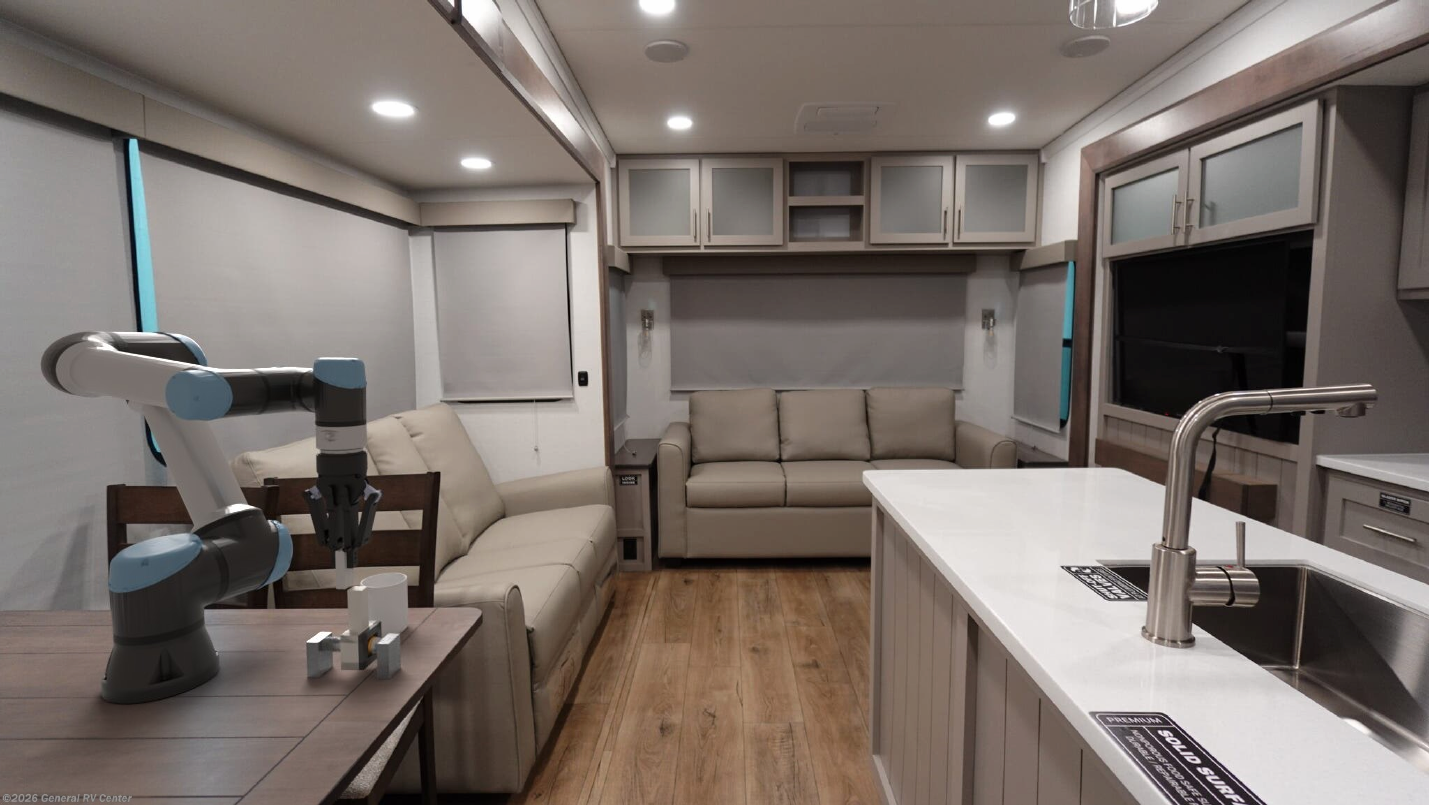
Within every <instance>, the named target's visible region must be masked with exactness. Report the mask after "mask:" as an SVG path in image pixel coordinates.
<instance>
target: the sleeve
mask: <svg viewBox="0 0 1429 805" xmlns="http://www.w3.org/2000/svg"><path fill="white" fill-rule="evenodd" d="M346 590H347V591H346V593H347V616H348V617H347V618H348V619H347V621H348V629H346V630H345V631H344V632H343V633H341V634H340V635H339V637H340V648H341V652H340V670H341V671H364V670H366V669H367V668H368V667H369V666H370V665H371V664H372V663H374V662H375V661H377V653H367V640H368V639H369V638H370V637H378V638H382V630H381V621H369V610H368V586H360V585H354V586H352V587H350V588H349V589H346Z"/></svg>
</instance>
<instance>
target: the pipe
mask: <svg viewBox="0 0 1429 805" xmlns="http://www.w3.org/2000/svg"><path fill="white" fill-rule="evenodd" d="M305 646H306V649H305V650H306V669H307V670H306V671H307V673H306V674H307V676H306V677H307V678H315V679H316V678H320V677H322V676H323V675H324V674H325V673H326V672H328V671H329V670H330V669H332V668H333V667H334V660H333V659H334V658H333V654H334V653H335V652H337V653H341V648H340V636H333V632H332V631H331V632H330V631H320V632H318V633H317V634H316V635H315V636H313V637H311V638H310V639H309V640H307V641H306V642H305ZM367 653H377V659H376V665H377V666H376V669H377V671H376V672H377V674H376V675H377V680H390V679H391V678H392V677H394V676H395V675H396V673H397V672H399V670H400V669H401V668H402V667H401V666H402V665H401V664H402V662H401V660H402V659H401V633H399V634H390V633H389V634H387V635H386V636H385V637H384V638H378V637H370V638H369V639H368V640H367Z"/></svg>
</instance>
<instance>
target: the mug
mask: <svg viewBox="0 0 1429 805" xmlns="http://www.w3.org/2000/svg"><path fill="white" fill-rule="evenodd" d="M359 586H368V610H369V621H381V630H382V638H384V637H385V636H386V635H387V634H389V633H390V634H401V633H403V632H404V631H405V630H406V629H407V628H408V625H409V604H408V603H409V600H408V599H409V598H408V597H409V596H408V594H409V593H408V576H407V575H406V574H405V573H400V572H385V573H377V574H374V575H371V576H368V577H366V578H363V579H362V580H361V581H360V584H359Z"/></svg>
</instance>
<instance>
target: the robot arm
mask: <svg viewBox="0 0 1429 805" xmlns="http://www.w3.org/2000/svg"><path fill="white" fill-rule="evenodd" d="M40 370H41V373H42V376H43V377H44V379H45V380H46V382H47V383H48V384H50V386H52V387H53V388H54V389H56V390H58V391H59V392H63V393H65V394H67V395H68V394H69V395H73V396H76V397H77V396H78V397H81V398H99V397H104V396H106V397H107V396H108V397H112V398H115V399H116V398H117V399H121V400H122V399H123V400H125V402H126V405H127V407H128V408H129V409H130V410H131V411H133V412H136V413H140V414H143V416H144V418H145V421H146V423H147V424H148V427H149V429H150V432H151V433H152V436H153V438H154V440H155V443H156V444H157V446H158V449H159V451H160V453H161V456H162V458H163V460H164V462H165V464H166V467H167V468H168V471H169V473H170V475H171V478H172V479H173V482H174V485H175V487H176V489H177V490H178V492H179V493H178V494H179V495H180V497H181V499H182V502H183V504H184V506H185V508H186V510H187V512H188V514H189V517H190V519H191V521H192V524H193V527H192V529H191V530H190V532H187V533H183V532H182V533H172V534H169V535H167V536H157V537H153V538H149V539H145V540H142V541H140V542H137V543H134V544H132V545H130V546H129V545H128V547H125V548H123V549H122V550H120V551H119V552H118V553H117V554H115V556H114V557H113V558H112V559H111V562H110V564H109V573H108V574H109V575H108V581H107V587H108V589H109V598H110V599H109V600H110V610H111V611H110V612H111V622H112V623H111V624H112V626H111V627H112V641H113V646H112V649H111V652H110V655H109V656H108V661H107V664H106V668H105V670H104V671H105V672H104V674H103V675H102V677H101V680H100V681H101V682H100V688H101V690H100V692H101V697H102V699H104V700H105V701H106V702H109V703H112V704H125V705H127V704H140V703H146V702H151V701H157V700H161V699H164V698H168V697H172V696H175V695H179V694H181V693H184V692H187V691H190V690H192V689H194V688H196V687H198V686H200V685H202V684H204V683H206V682H208V681H209V680H210V679H211V678H214V676H216V675H217V673H218V672H219V671H220V669H221V664H220V660H221V659H220V653H219V651H218V650H217V648H215V646H214V643H213V641H212V639H211V637H210V634H209V632H208V630H207V628H206V621H205V607H206V606H209V605H212V604H215V603H218V602H221V601H225V600H228V599H230V598H232V597H233V598H234V597H235V596H238V595H241V594H244V593H247V592H251V591H254V590H260V589H261V588H263V587H264V586H267V585H269V584H272V583H274V582H276V581H278V580H280V579H281V578H283V577H284V575H286V573H287V571H288V570H289V568H290V565H291V564H292V563H291V562H292V558H293V555H294V554H293V552H294V551H293V550H294V548H293V546H294V545H293V540H292V536H291V534H290V531H289V529H288V528H287V527H286V525H285V524H283V523H281V522H280V521H279V520H274V519H273V520H272V519H268V520H267V519H266V516H265V514H264V512H263V510H262V509H261V508H259V507H256V506H252V505H249V504H248V501H247V499H246V498H245V495H244V492H243V491H242V489H241V487H240V485H239V482H238V480H237V478H236V475H235V473H234V472H233V469H232V468H231V466H230V462H229V461H228V459H227V457H226V454H225V453H224V450H223V448H222V446H221V444H220V442H219V440H218V438H217V435H216V433H215V431H214V429H213V427H212V425H211V422H210V421H213V420H217V419H218V420H219V419H227V418H236V417H237V418H238V417H239V418H240V417H246V416H247V417H248V416H249V417H250V416H258V415H259V416H260V415H261V416H262V415H269V414H271V415H272V414H285V413H292V412H293V413H294V412H297V413H298V412H301V413H302V412H303V413H314V418H315V421H314V424H315V426H314V427H315V448H316V449H317V450H319V451H317V453H315V461H316V462H315V464H316V465H315V467H316V468H315V469H316V473H317V478H316V480H315V484H314V485H313V486H312V487H311V488H308V489H305V490H303V491H302V492H301V497H302V498H303V500H304V502H306V504H307V507H308V510H309V514H310V518H311V521H312V525H313V529H314V534H315V536H316V541H317V544H318V546H320V547H321V548H322V547H325V548H328V549H329V550H330V566H331V568H332V569H335V584H336V585H335V588H336V590H347V589H348V588H349V587H350V586H352V585H353V584H355V572H354V571H355V570H354V568H356V567H357V566H358V564H359V548H362V547H363V546H365V545H366V544H369V542H370V540H371V537H372V536H371V535H372V531H373V526H374V522H375V517H376V513H377V509H378V505H379V502H380V501H381V499H382V498H383V496H384V494H385V492H384V490H382V489H378V490H377V489H376V488H374V487H373V486H372V485H371V483H370V479H369V477H368V475H367V474H368V468H369V466H368V464H369V463H368V451H367V450H366V449H364V448H366V447H367V446H368V428H367V427H368V425H367V424H368V423H367V385H368V382H367V377H366V376H367V375H366V366H365V362H364V361H363V360H362V359H360V358H356V357H317V358H316V359H314V361H313V368H309V367H297V366H292V365H291V366H289V365H288V366H282V365H281V366H273V367H267V368H264V367H263V368H261V367H259V368H241V369H240V368H239V369H237V368H231V369H230V368H216V367H209V363H208V360H207V357H206V355H205V353H204V351H203V349H202V347H200V345H199V344H198V343H196V341H195V340H193V339H192V338H190V337H189V336H187V335H183V334H180V333H168V332H166V331H153V332H134V331H133V332H130V331H129V332H127V331H101V330H99V331H98V330H95V331H94V330H93V331H90V330H89V331H80V332H75V333H71V334H68V335H65V336H62V337H60V338H59V339H57V340H55V341H53V342H52V343H50V344H49V345H48V347H46V349H45V350H44V351H43V353H42V356H41V360H40ZM363 496H364V504H363V506H362V510H361V514H360V513H359V508H360V506H361V499H362V497H363ZM323 498H324V499H323ZM324 500H325V501H324ZM359 514H360V517H359ZM359 518H360V519H359Z"/></svg>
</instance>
